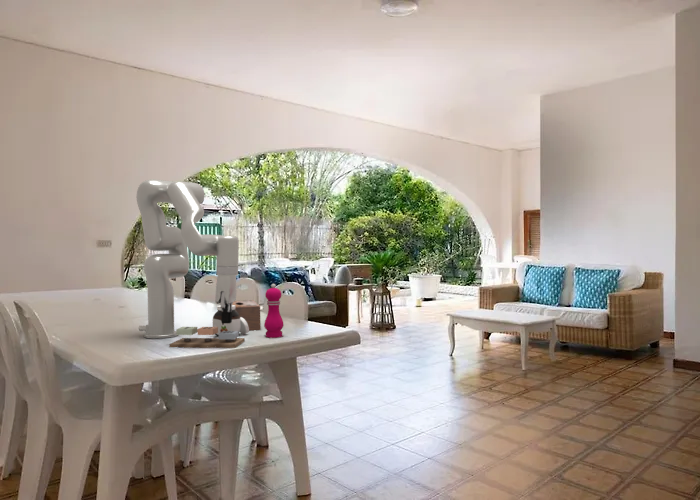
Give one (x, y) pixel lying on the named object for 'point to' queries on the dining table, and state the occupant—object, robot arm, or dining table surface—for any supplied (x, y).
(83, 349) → the dining table surface
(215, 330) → the tile
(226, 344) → the board
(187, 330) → the tile
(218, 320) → the spread jar
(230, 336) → the tile
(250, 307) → the tissue box cover
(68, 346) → the dining table surface
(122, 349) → the dining table surface
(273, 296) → the pepper mill
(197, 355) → the dining table surface
